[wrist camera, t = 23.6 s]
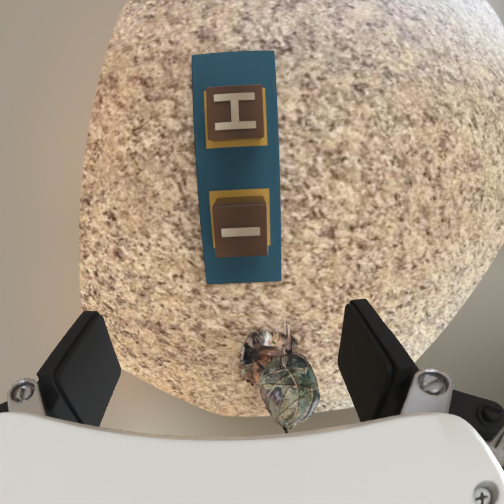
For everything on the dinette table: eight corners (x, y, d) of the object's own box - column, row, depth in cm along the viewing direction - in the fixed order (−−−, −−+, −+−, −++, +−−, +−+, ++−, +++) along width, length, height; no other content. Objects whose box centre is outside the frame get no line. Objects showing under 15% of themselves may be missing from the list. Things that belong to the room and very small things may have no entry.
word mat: (207, 282, 32) (206, 284, 31) (192, 56, 24) (191, 55, 23) (280, 279, 32) (281, 281, 31) (273, 51, 24) (274, 50, 23)
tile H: (213, 141, 26) (207, 140, 22) (211, 96, 25) (205, 86, 20) (261, 139, 26) (264, 137, 22) (259, 94, 25) (262, 83, 20)
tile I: (220, 241, 30) (215, 258, 25) (216, 197, 28) (211, 207, 24) (264, 239, 30) (268, 256, 25) (263, 195, 28) (267, 204, 24)
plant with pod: (324, 329, 34) (377, 470, 16) (276, 388, 38) (292, 518, 19) (266, 304, 33) (288, 462, 14) (223, 369, 36) (214, 510, 17)
